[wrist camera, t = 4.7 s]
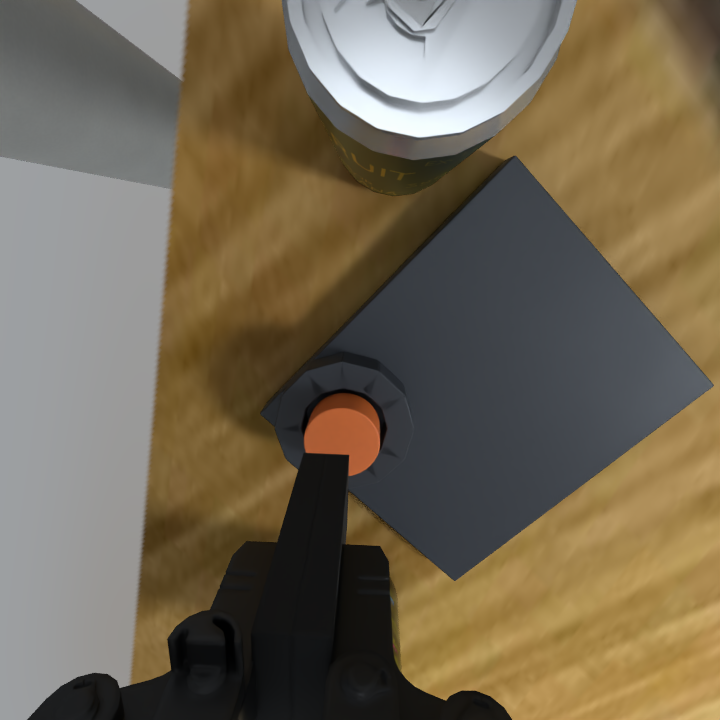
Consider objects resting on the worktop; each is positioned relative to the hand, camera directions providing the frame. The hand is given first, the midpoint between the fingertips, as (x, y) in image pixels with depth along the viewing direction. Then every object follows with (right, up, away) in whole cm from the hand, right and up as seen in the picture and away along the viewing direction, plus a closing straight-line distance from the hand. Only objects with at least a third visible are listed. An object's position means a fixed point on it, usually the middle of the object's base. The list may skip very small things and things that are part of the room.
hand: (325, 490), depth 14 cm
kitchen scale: (+7, +3, +7) cm, 10 cm away
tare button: (0, +1, +5) cm, 6 cm away
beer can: (+3, +14, +4) cm, 15 cm away
